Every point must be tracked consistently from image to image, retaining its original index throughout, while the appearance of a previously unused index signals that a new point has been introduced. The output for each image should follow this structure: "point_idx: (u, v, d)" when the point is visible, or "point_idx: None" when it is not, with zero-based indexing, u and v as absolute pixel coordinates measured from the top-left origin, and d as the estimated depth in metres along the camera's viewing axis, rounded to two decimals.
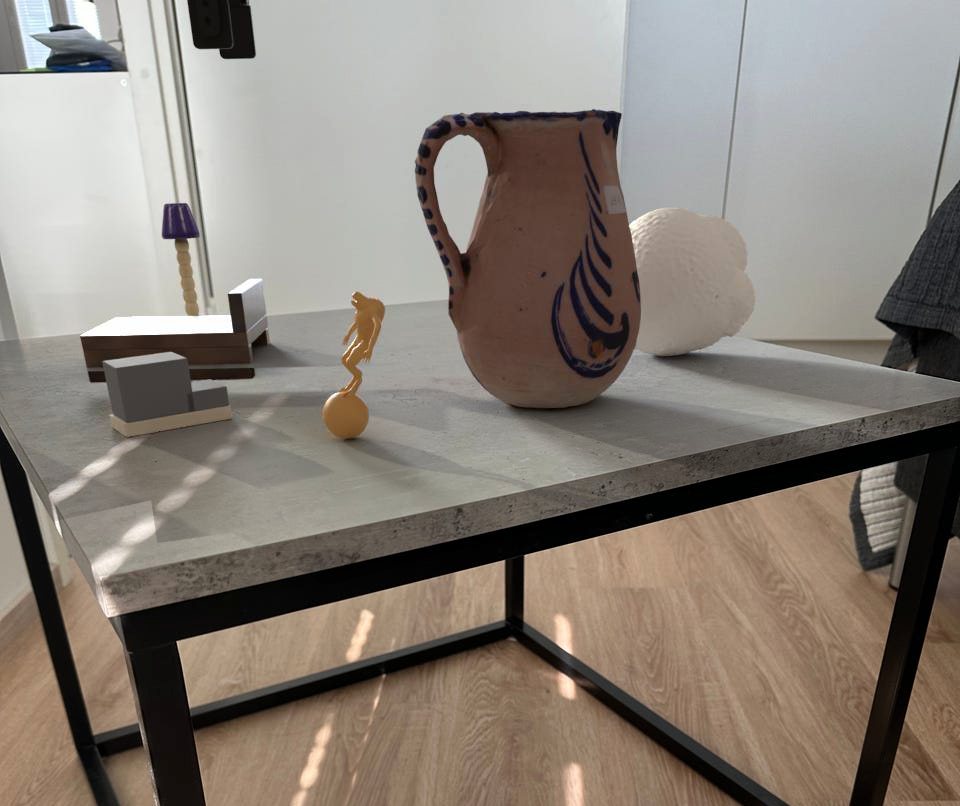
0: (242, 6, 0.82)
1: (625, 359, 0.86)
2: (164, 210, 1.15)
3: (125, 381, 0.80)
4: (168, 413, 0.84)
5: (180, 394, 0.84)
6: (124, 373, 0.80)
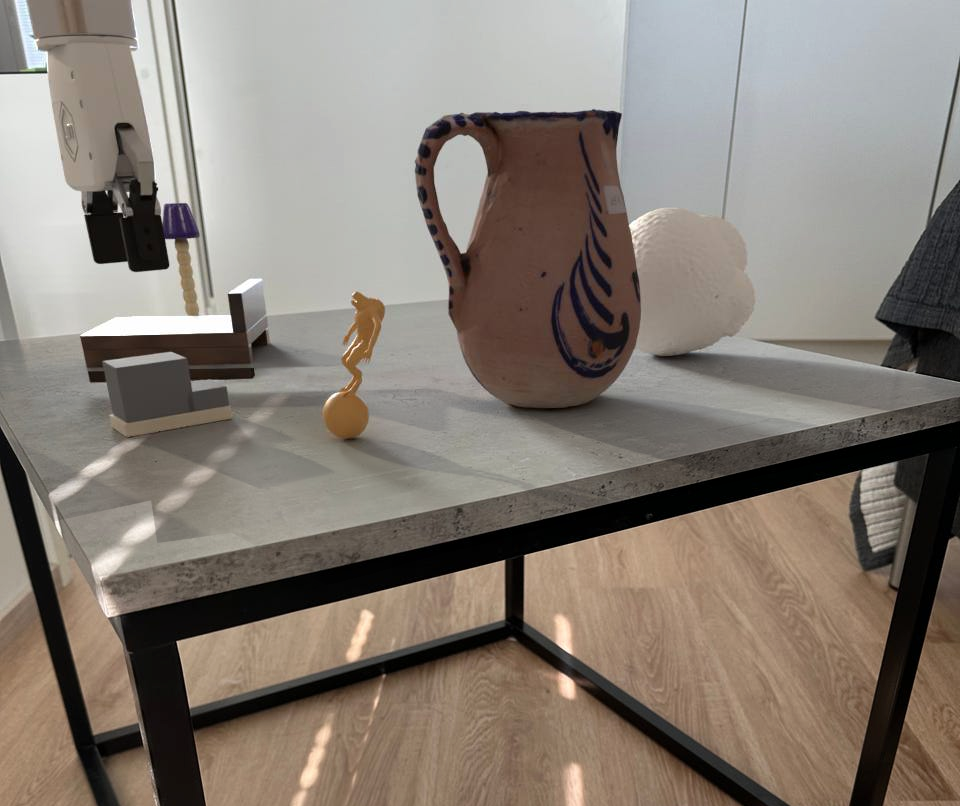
0: (116, 213, 0.81)
1: (625, 359, 0.86)
2: (164, 210, 1.15)
3: (125, 381, 0.80)
4: (168, 413, 0.84)
5: (180, 394, 0.84)
6: (124, 373, 0.80)
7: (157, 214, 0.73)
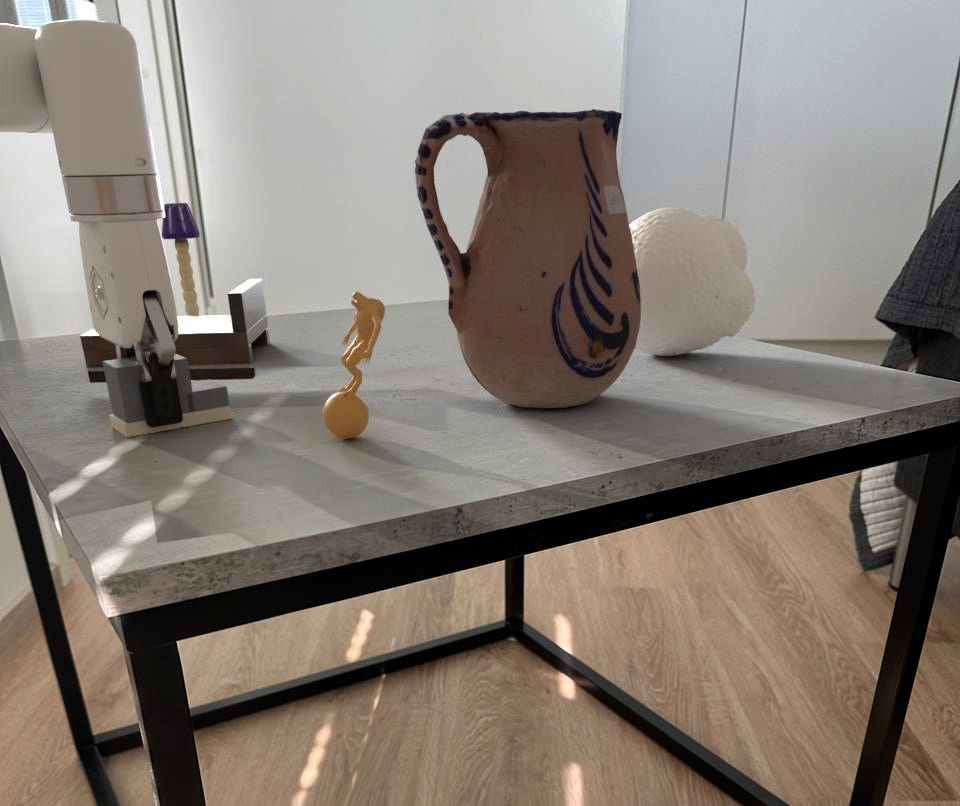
0: None
1: (625, 359, 0.86)
2: (164, 210, 1.15)
3: (125, 381, 0.80)
4: None
5: (180, 394, 0.84)
6: (124, 373, 0.80)
7: (173, 378, 0.81)
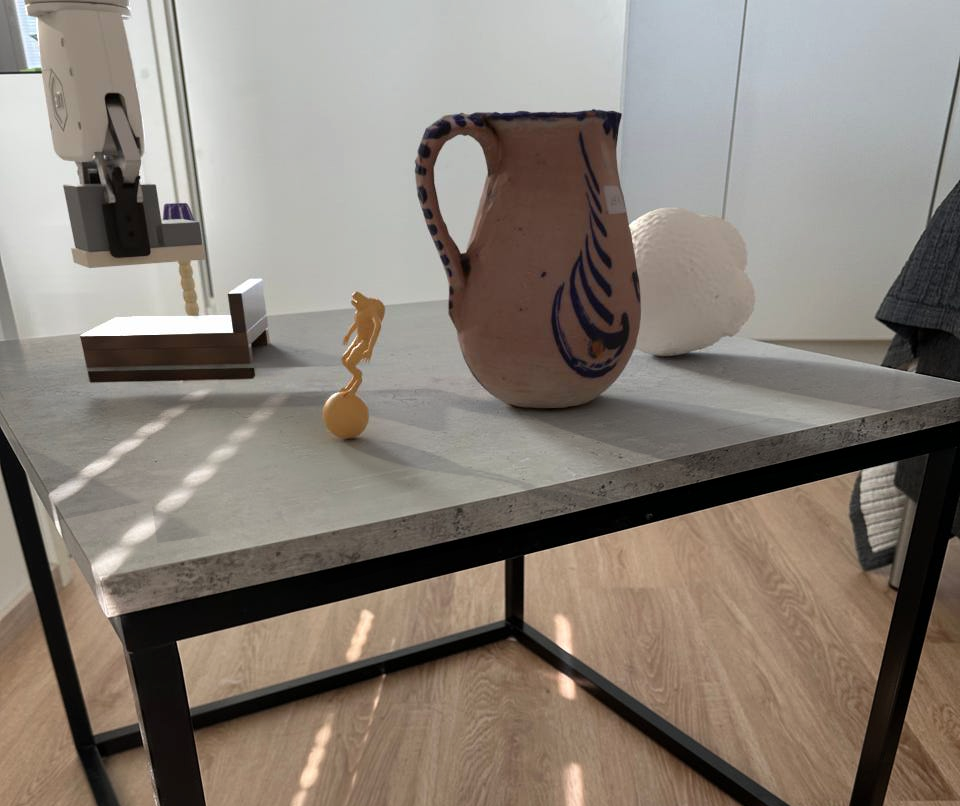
0: None
1: (625, 359, 0.86)
2: (164, 210, 1.15)
3: (87, 203, 0.74)
4: None
5: (148, 225, 0.77)
6: (86, 193, 0.74)
7: (139, 202, 0.75)
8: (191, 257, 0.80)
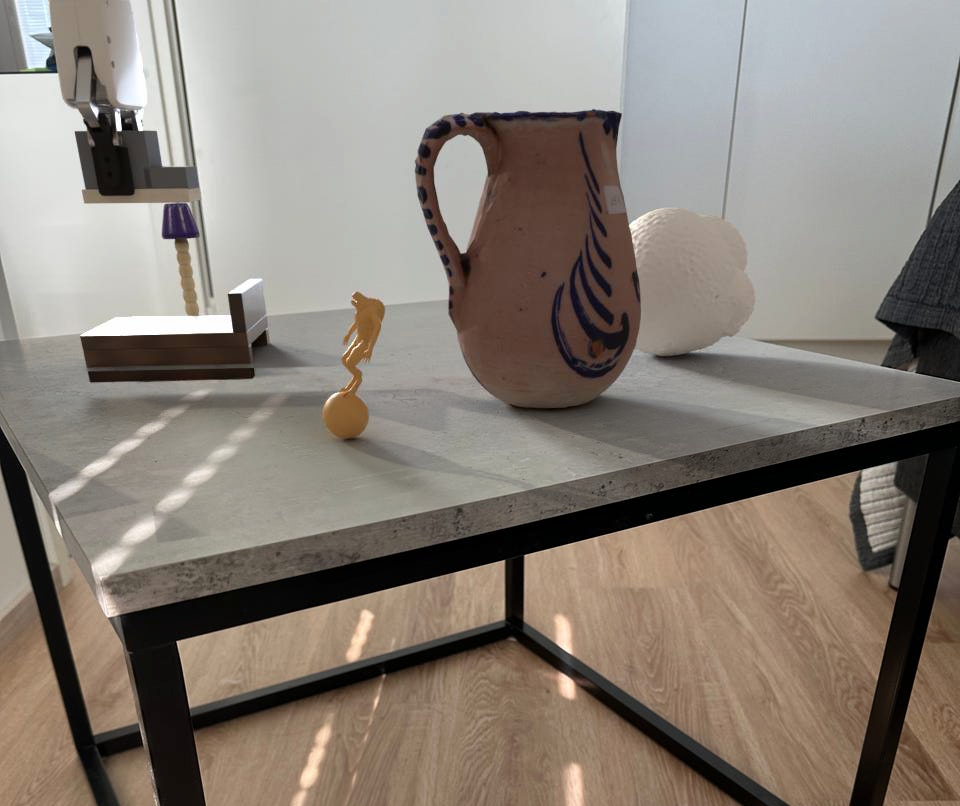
0: None
1: (625, 359, 0.86)
2: (164, 210, 1.15)
3: (83, 146, 0.85)
4: None
5: (137, 168, 0.86)
6: (82, 137, 0.85)
7: (116, 145, 0.84)
8: (175, 199, 0.87)
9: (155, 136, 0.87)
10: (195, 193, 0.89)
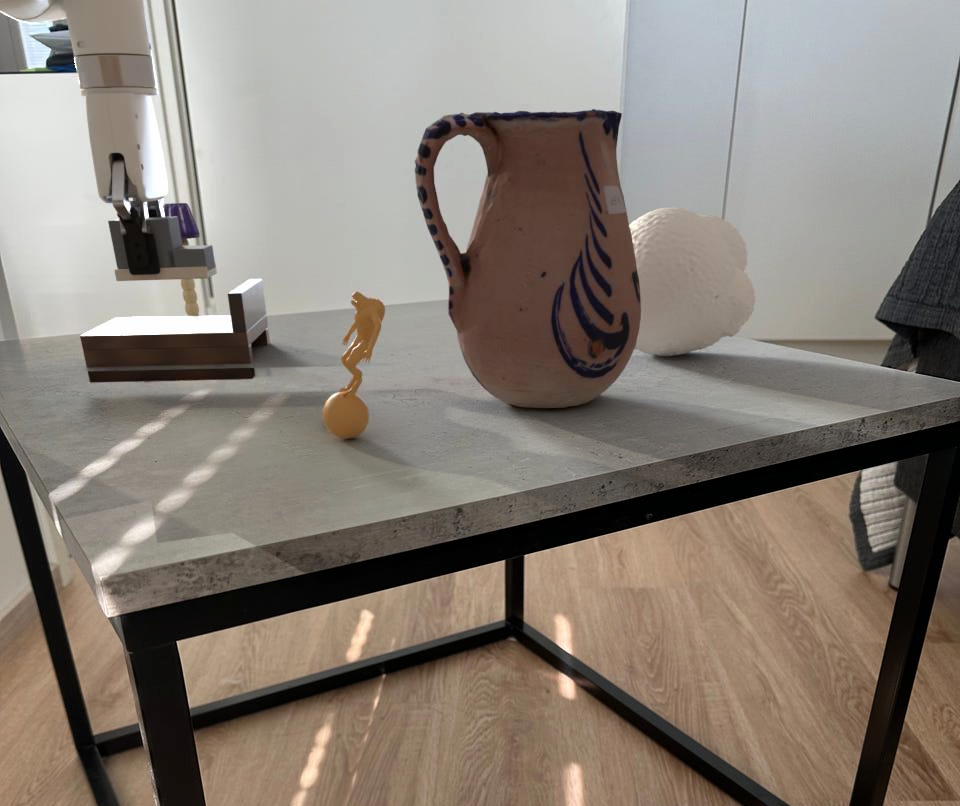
0: None
1: (625, 359, 0.86)
2: (164, 210, 1.15)
3: (115, 233, 0.98)
4: None
5: (162, 250, 0.99)
6: (115, 226, 0.98)
7: (145, 233, 0.97)
8: (196, 276, 1.01)
9: (176, 221, 1.01)
10: (212, 269, 1.03)
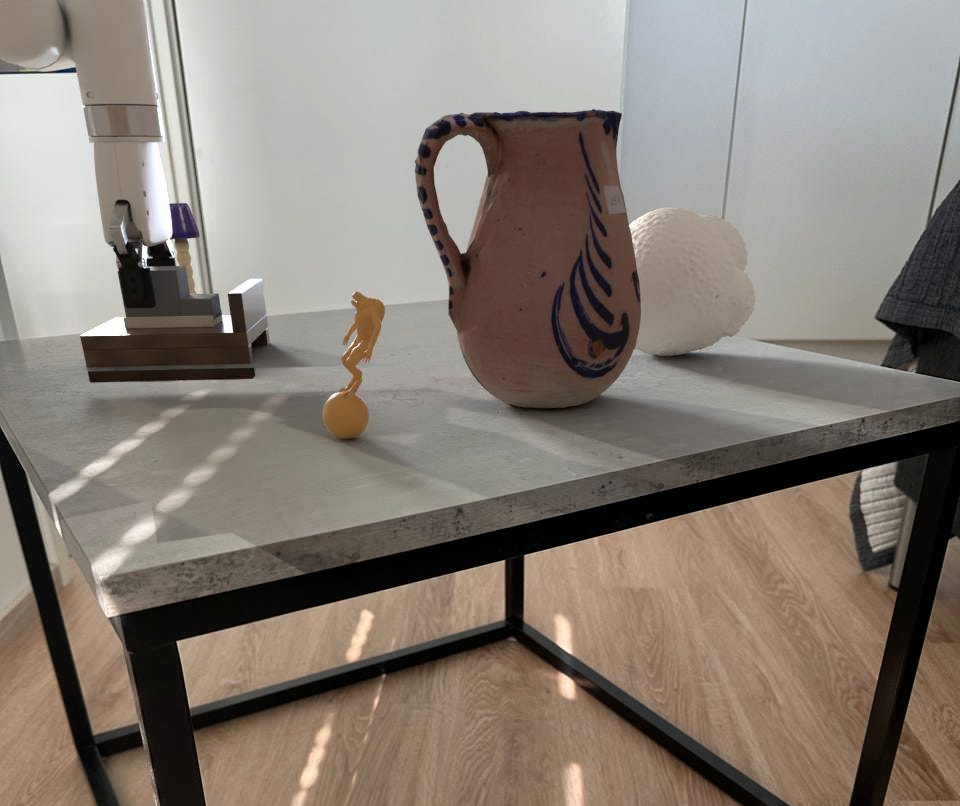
0: (168, 259, 1.06)
1: (625, 359, 0.86)
2: None
3: None
4: (160, 314, 1.02)
5: (170, 299, 1.02)
6: None
7: (141, 267, 0.97)
8: (202, 324, 1.03)
9: (184, 271, 1.03)
10: (218, 317, 1.05)
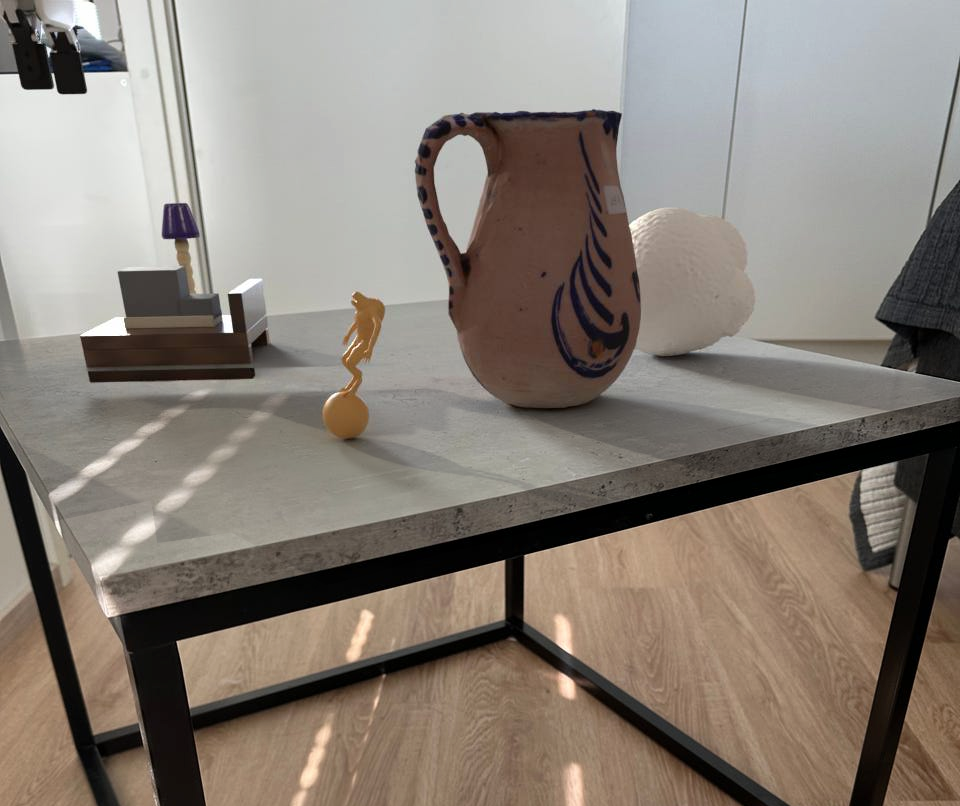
0: (72, 52, 1.02)
1: (625, 359, 0.86)
2: (164, 210, 1.15)
3: (124, 283, 1.01)
4: (160, 314, 1.02)
5: (170, 299, 1.02)
6: (124, 276, 1.01)
7: (35, 41, 0.93)
8: (202, 324, 1.03)
9: (184, 271, 1.03)
10: (218, 317, 1.05)
